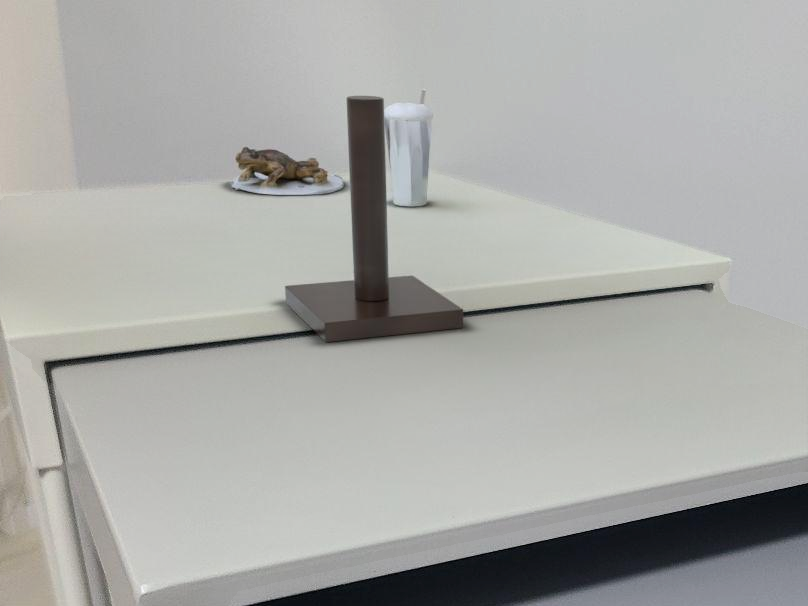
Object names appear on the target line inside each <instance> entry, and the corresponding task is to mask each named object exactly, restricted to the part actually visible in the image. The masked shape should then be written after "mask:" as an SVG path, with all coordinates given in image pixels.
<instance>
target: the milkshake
mask: <svg viewBox="0 0 808 606" xmlns="http://www.w3.org/2000/svg"><path fill="white" fill-rule="evenodd" d="M426 94H427V89H421V95H420V98H419V99H420V100H419V103H414V102H411V101H410V102H405V103H404V102H394V103H392V104H390V105H387V106H386V108H384V123H385V140H386V146H387V152H388V153H387V154H388V165H389V175H390V185H391V194H392V203H393V205H395V206H398V207H399V206H400V207H411V208H412V207H413V208H414V207H422V206H425V205H427V204H428V203H427V202H428V186H429V185H428V184H429V183H428V182H429V168H430V167H429V166H430V153H431V152H430V151H431V142H432V141H431V140H432V129H433V116H434V114H433V112H432V110H431V109H430V108H429V107H428V106H427V105H425V102H426V96H427V95H426Z"/></svg>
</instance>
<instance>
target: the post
mask: <svg viewBox="0 0 808 606" xmlns="http://www.w3.org/2000/svg"><path fill="white" fill-rule="evenodd" d="M384 110H385V99H384V97H382V96H376V95H375V96H374V95H349V96H346V120H347V144H348V146H347V147H348V168H349V169H348V171H349V190H350V191H349V193H350V217H351V239H352V241H351V242H352V263H353V279H352V280H351V279H350V280H340V281H327V282H315V283H303V284H290V285H285V286H284V291H285V292H284V293H285V304H286V305H287V306H288V307H289V308H290V309H291V310H293V311H294V312H295V313H296V314H297V315H298V316H299V318H301V320H302V321H303V322H305V324H307V325H308V326H309V327H310V328H311V329H312V330H313V332H315V333H316V334H317V335H318V336H319V337H320V338H321V339H322V340H323V341H324V342H325V343H331V342H341V341H349V340H350V341H351V340H361V339H368V338H376V337H388V336H389V337H390V336H399V335H407V334H416V333H417V334H418V333H426V332H436V331H443V330H444V331H445V330H454V329H463V328H464V309H463V308H462V307H460V306H459V305H457V304H456V303H454V302H453V301H452V300H450V299H448V298H447V297H445V296H444V295H443V294H441V293H440V292H438V291H436V290H435V289H433V288H432V287H430V286H429V285H428V284H426V283H424V282H423V281H421V280H420V279H418V278H417V277H415V276H414V275H402V276H389V244H388V243H389V240H388V239H389V238H388V237H389V236H388V205H387V204H388V203H387V202H388V201H387V167H386V166H387V164H386V131H385V123H384Z"/></svg>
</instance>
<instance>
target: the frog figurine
mask: <svg viewBox="0 0 808 606" xmlns="http://www.w3.org/2000/svg"><path fill="white" fill-rule="evenodd" d="M235 161H236V163H237V164H238V165H237V168H238V169H239V170H241V171H243V172H242V173H240V174H238V175H237V176H234V178H232V179H231V182H229V184H230V186H231V188H232V189H235V191H239V190H240V191H246V192H247V193H255V194H259V195H260V194H261V195H273V196H275V195H277V196H298V195H299V196H301V195H302V196H306V195H308V196H309V195H324V194H330V193H335V192H336V191H337V192H338V191H340V190H342V189H343V188H344V185H345V184H344V183H345V182H344V180H343V177H342V176H340V175H337V174H334V175H333V176H331V175H328V172H329V171H328V170H326V169H324V168H321V167H319V164H320V163H319V161H318V160H317V158H315V157H308V159H307V160H298V161H297V160H295V159H293V158H292V157H290V156H289V155H288V154H286V153H284V152H281V151H279V150H277V149H271V148H269V149H268V148H267V149H259V150H257V149H253V148H252V149H250V148H249V147H247V146H245V147H242V149H241V152H238V153H236V156H235Z"/></svg>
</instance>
